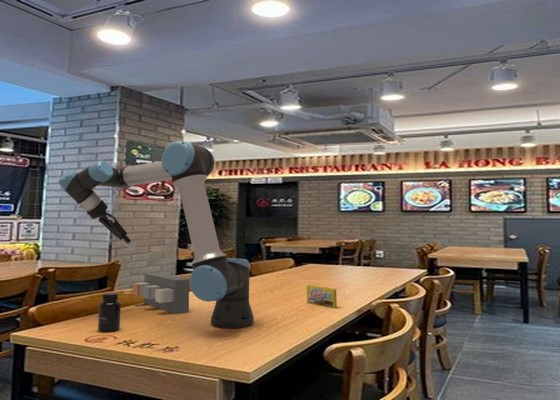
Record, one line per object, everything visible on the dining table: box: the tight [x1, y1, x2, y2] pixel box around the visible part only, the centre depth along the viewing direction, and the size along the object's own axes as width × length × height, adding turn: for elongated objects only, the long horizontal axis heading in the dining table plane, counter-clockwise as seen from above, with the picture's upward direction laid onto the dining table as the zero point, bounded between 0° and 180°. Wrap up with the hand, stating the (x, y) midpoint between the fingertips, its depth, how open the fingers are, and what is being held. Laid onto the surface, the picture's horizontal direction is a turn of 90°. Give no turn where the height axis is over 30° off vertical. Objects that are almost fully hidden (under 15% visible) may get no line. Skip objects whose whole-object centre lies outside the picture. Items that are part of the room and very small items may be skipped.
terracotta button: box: [132, 281, 150, 296], centre depth 195 cm, size 8×5×5 cm, turn 130°
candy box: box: [306, 284, 338, 309], centre depth 196 cm, size 16×2×8 cm, turn 42°
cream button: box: [155, 288, 174, 303], centre depth 178 cm, size 8×5×5 cm, turn 130°
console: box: [143, 272, 190, 315], centre depth 190 cm, size 6×29×13 cm, turn 40°
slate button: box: [143, 285, 162, 299], centre depth 187 cm, size 8×5×5 cm, turn 130°
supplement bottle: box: [97, 292, 122, 333], centre depth 151 cm, size 7×7×12 cm
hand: (133, 247), depth 185 cm, fingers closed
